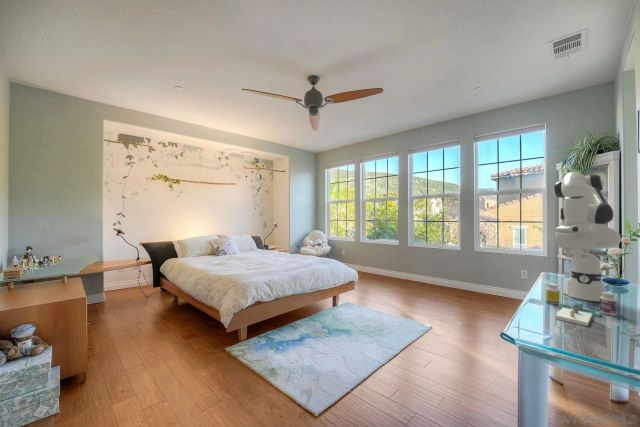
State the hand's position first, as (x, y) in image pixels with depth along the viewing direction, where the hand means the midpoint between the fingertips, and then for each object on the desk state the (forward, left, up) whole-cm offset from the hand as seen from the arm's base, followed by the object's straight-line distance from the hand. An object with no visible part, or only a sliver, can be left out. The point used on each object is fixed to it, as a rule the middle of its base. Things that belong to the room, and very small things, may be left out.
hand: (576, 257), depth 127 cm
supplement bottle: (-6, -10, -25) cm, 28 cm away
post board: (+13, +1, -25) cm, 28 cm away
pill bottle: (-7, +10, -26) cm, 28 cm away
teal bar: (0, +1, -25) cm, 25 cm away
